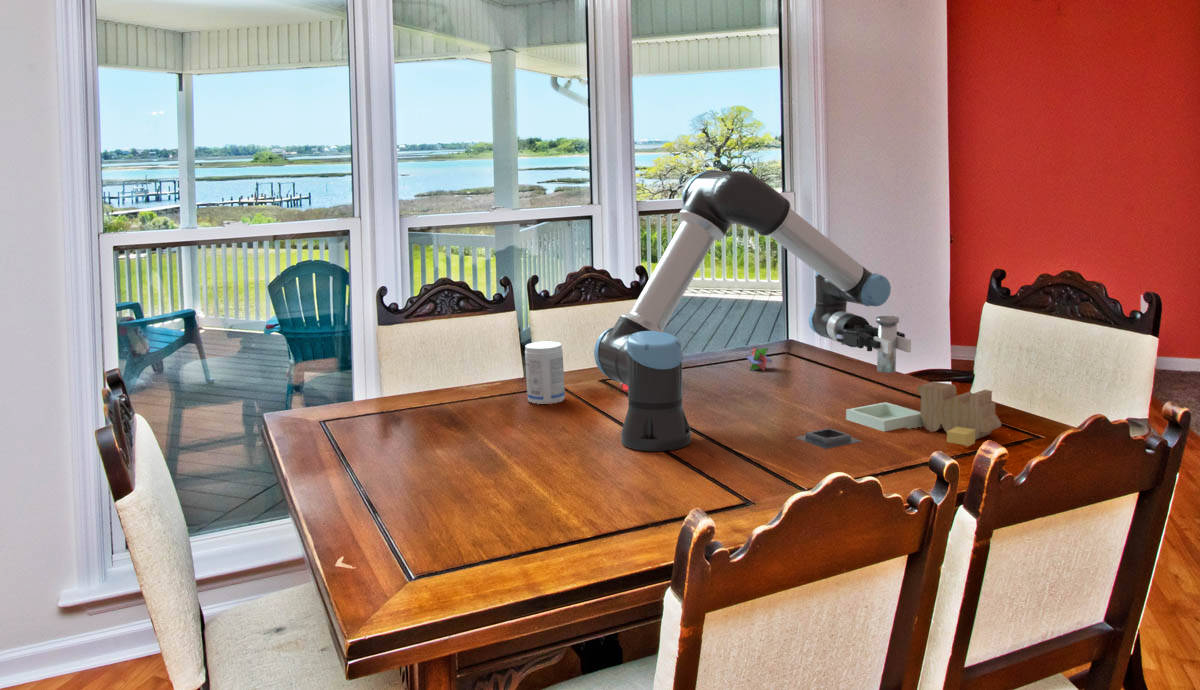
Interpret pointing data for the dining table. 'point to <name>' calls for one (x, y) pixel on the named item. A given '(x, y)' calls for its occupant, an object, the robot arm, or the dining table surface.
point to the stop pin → (888, 332)
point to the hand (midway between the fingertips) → (899, 347)
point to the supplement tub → (544, 372)
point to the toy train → (957, 409)
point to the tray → (885, 416)
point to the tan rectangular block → (961, 436)
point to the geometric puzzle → (758, 358)
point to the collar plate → (828, 438)
